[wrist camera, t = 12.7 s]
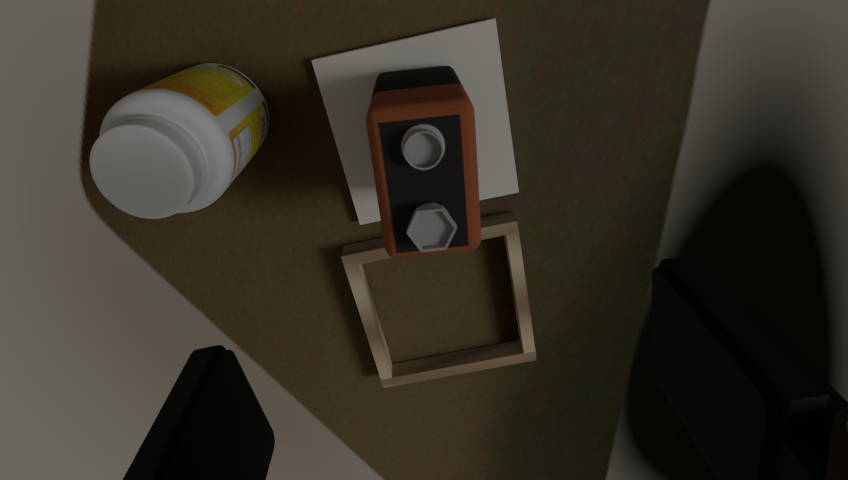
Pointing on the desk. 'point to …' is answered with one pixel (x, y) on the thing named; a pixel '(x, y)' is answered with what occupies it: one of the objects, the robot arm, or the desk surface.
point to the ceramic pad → (456, 47)
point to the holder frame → (452, 361)
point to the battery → (424, 162)
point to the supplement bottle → (179, 141)
